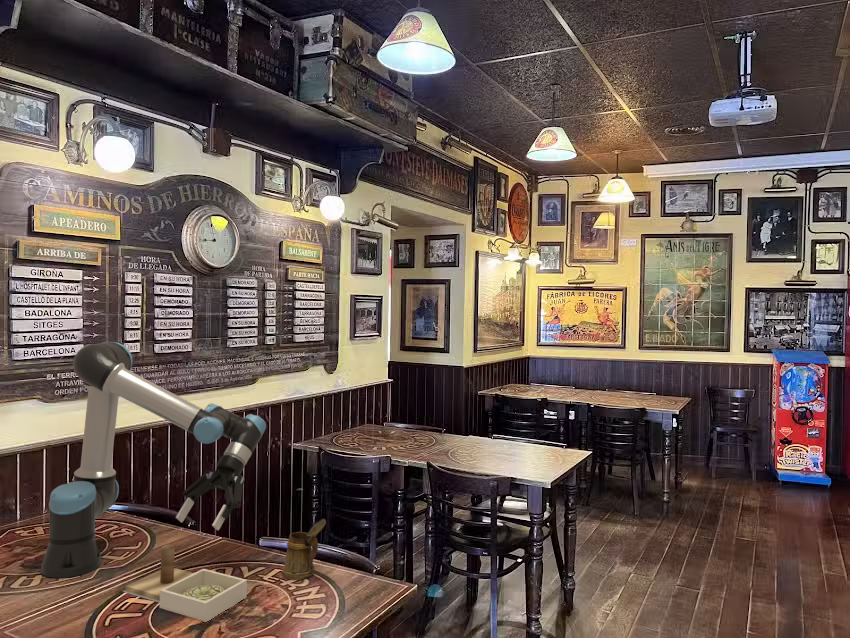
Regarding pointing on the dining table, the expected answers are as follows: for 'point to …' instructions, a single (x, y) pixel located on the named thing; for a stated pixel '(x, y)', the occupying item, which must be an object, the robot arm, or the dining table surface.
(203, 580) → the wooden box
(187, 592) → the decorated donut
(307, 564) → the wooden mug
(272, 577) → the dining table surface
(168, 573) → the oak cover
